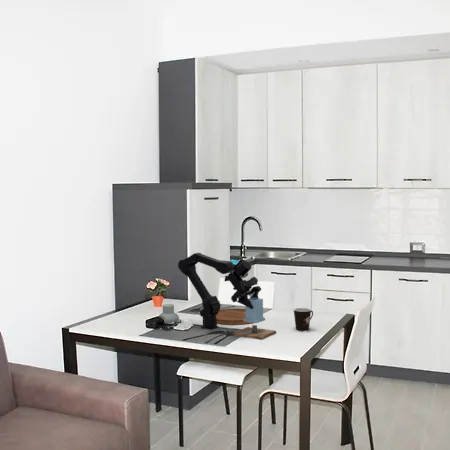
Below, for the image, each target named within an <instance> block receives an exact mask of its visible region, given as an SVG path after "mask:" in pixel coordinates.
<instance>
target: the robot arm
mask: <svg viewBox="0 0 450 450" xmlns="http://www.w3.org/2000/svg"><path fill="white" fill-rule="evenodd" d="M198 263H200V264H203V265H206V266H208V267H210V268H213V269H215V270H216V272H217V273H219V274H221V275H225V276H224V282H230V284H232V286H233V288H232V290H233V291H235V290H236V291H235V292H234V293H233V294H232V296H231V297H230V300H231V301H232V303H236V302H237V303H238V304H240V305H243V306H244V307H246V306H247V307H249V308H250V309H253V306H252V304H251V302H250V301H249V298H259V293H260V292H261V291H262V288H261V286H259V285H258V283H259V280H258V278H257V277H256V276H252V277H251V278H250V279H247V280H246V279H244V278H243V277H245V276H246V275H247V274H248V273H249V271H251V270H252V268H253V267H252V264H251V263H250V262H248V261H247V260H244V259H243V258H241V259H239V260H238V262H237V263H236V264H235V263H233V262H232V261H231V260H230V261H229V260H223V259H222V260H220V259H217V258H214V257H211V256H208V255H205V254H202V253H201V252H196V253H193V254H191V255H189V256H187V257H186V258H184V259H179V261H178V263H177V268H178V269H179V271H180V272H181V274H183V275H185V276H186V277H187V278H188V279H189V281H190V282H191V284H192V286H193V287H194V289H195V290H196V292H197V294H198V295H199V297H200V299H201V302H202V303H201V305H202V309H201V310H200V311H199V314H200V317H202V326H200V328H202V329H207V330H213V329H215V328H218V327H219V325H218V324H217V318H216V314H218V311H219V310H221V301H219V299H218V296H217V295H211V293H210V292H209V290H208V289H207V287H206V285H205V284H204V283H203V281H202V279H201V277H200V276H199V274H198V273H197V266H196V265H197V264H198Z"/></svg>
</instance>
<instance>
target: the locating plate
mask: <svg viewBox="0 0 450 450" xmlns="http://www.w3.org/2000/svg"><path fill="white" fill-rule="evenodd" d="M275 334H277V330H274V329H265V328H258V325H256V324H254V325H253V324H252V326H251V327H250V326H247V327H244V328H243V329H242V328H241V329H239V330H237V331H234V332H232V336H234V337H235V336H236V337H241V338H248V339H255V340H261V341H262V340H264V339H266V338H267V339H268V338H269V337H271V336H273V335H275Z"/></svg>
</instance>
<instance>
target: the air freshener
mask: <svg viewBox="0 0 450 450" xmlns="http://www.w3.org/2000/svg"><path fill="white" fill-rule="evenodd" d="M158 317H161V318H162V319H163V320H164V322H165V323H172V322H176V323H177V321H179V320H180V317H179V314H178V313H176V312H175V306H174V304H173V303H167V304H166V303H164V304H163V305H162V312H161V313H160V314H159V315H158Z"/></svg>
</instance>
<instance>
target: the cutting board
mask: <svg viewBox="0 0 450 450" xmlns="http://www.w3.org/2000/svg"><path fill="white" fill-rule="evenodd" d="M216 318H217V325H220V326H221V325H222V326H245V325H253V324H254V323H252V322H246V321H243V319H245V318H246V308H225V309H224V308H223V309H220V310H219V311H218V314H216ZM263 318H265V317H264V316H263Z"/></svg>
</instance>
